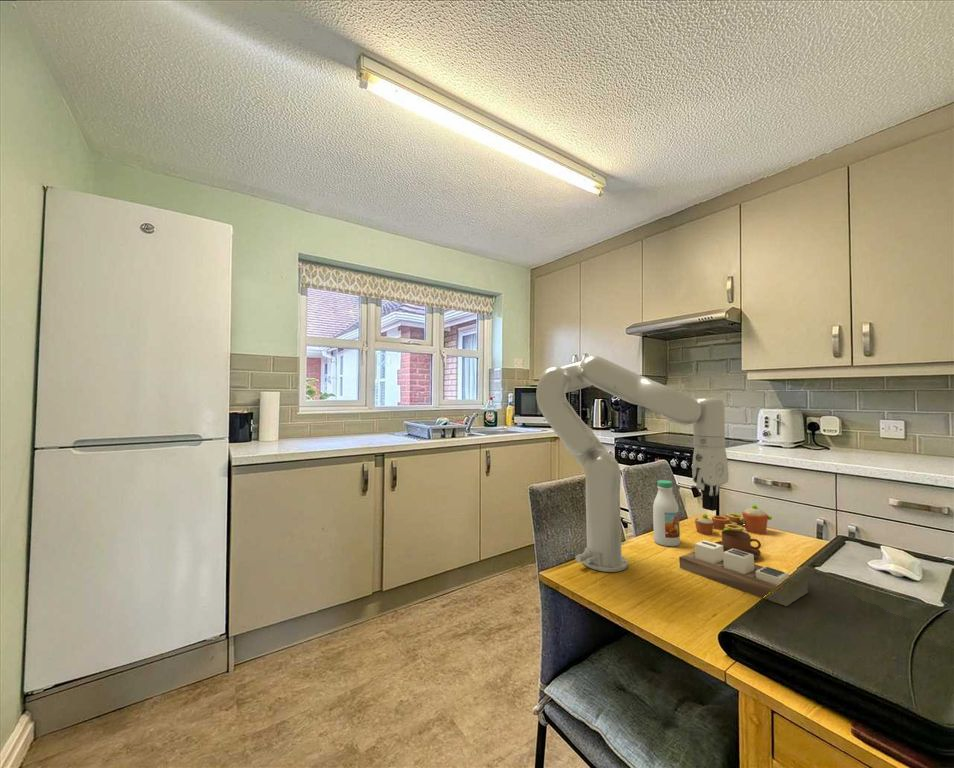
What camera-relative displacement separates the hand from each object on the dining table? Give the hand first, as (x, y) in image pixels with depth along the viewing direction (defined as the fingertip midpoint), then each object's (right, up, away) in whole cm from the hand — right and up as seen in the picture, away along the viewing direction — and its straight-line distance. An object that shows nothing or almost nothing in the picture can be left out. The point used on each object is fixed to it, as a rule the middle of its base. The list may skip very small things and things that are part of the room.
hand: (709, 509), depth 109 cm
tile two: (+4, -14, -6) cm, 15 cm away
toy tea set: (+26, -18, +31) cm, 44 cm away
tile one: (0, -14, 0) cm, 14 cm away
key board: (+4, -16, -6) cm, 18 cm away
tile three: (+8, -16, -13) cm, 22 cm away
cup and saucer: (+14, -17, +11) cm, 25 cm away
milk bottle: (-2, -18, +21) cm, 27 cm away
